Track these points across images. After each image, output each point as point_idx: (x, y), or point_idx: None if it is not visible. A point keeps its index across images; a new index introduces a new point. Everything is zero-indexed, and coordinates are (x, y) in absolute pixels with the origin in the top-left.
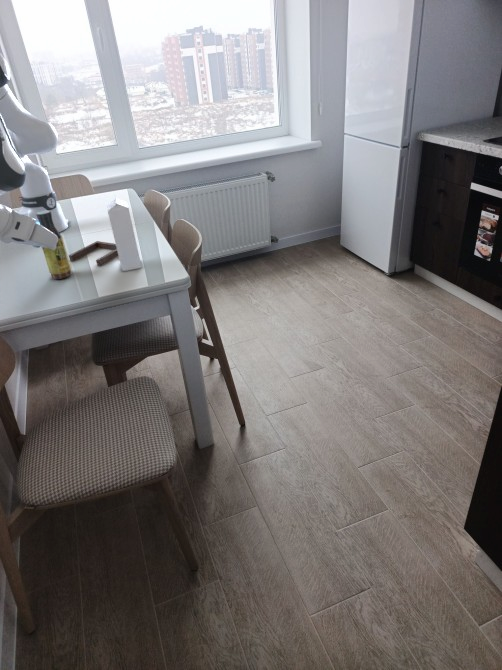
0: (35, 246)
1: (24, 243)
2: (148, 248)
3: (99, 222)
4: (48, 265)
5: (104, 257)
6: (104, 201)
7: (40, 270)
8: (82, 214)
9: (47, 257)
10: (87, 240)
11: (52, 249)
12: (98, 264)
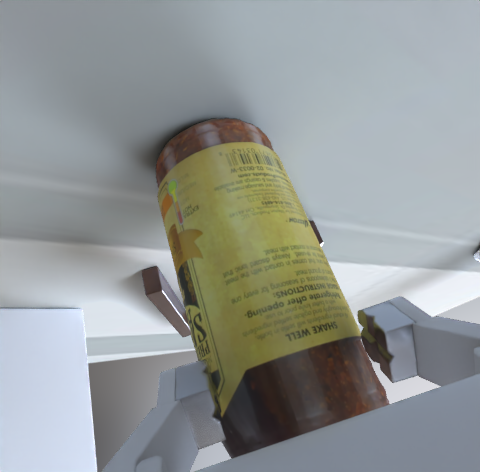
0: (386, 318)
1: (464, 421)
2: (137, 343)
3: (398, 293)
4: (253, 192)
5: (155, 305)
6: (443, 303)
7: (398, 116)
8: (466, 279)
9: (256, 257)
10: (364, 271)
11: (159, 386)
12: (149, 274)
